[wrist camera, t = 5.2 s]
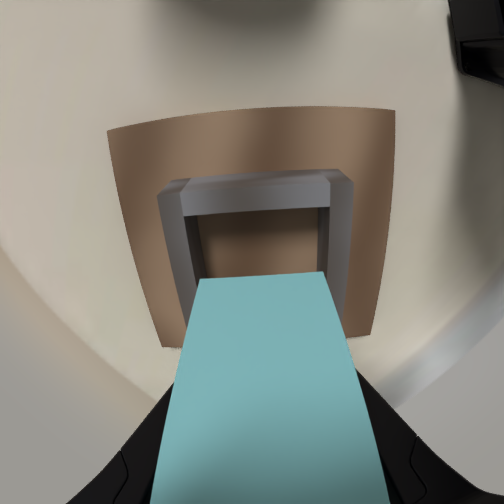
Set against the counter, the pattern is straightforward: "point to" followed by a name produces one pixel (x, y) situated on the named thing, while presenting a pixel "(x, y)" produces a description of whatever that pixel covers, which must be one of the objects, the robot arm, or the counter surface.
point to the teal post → (267, 401)
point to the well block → (257, 203)
